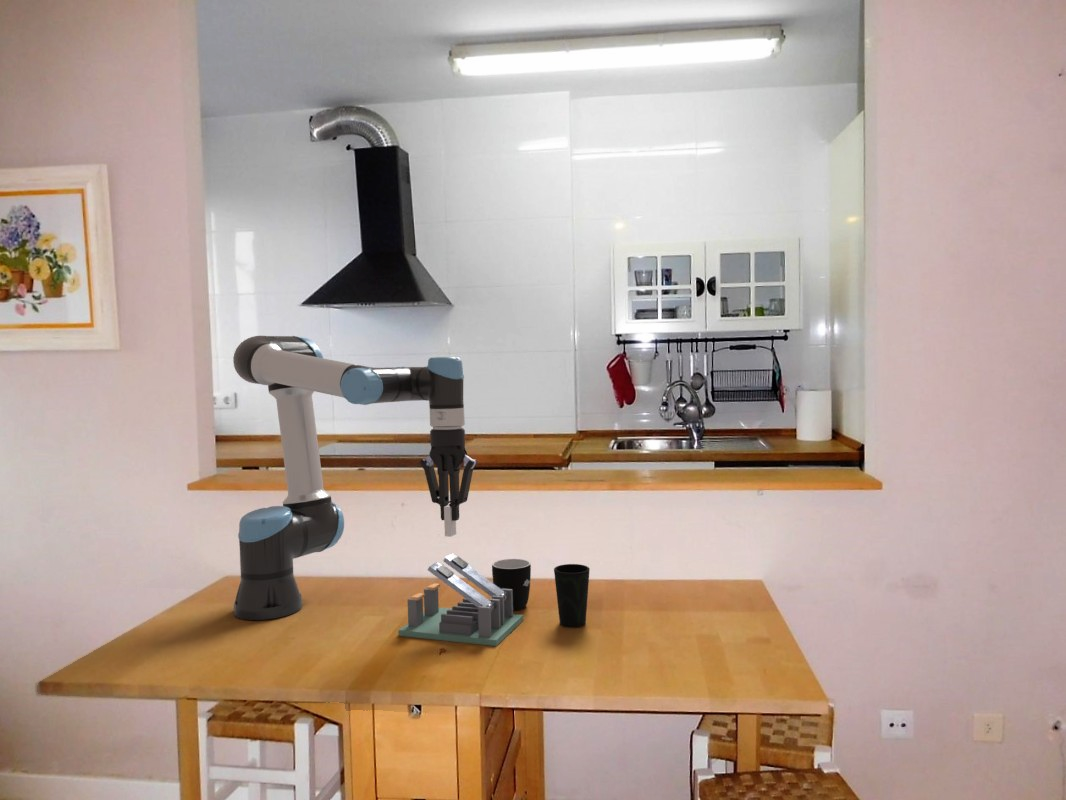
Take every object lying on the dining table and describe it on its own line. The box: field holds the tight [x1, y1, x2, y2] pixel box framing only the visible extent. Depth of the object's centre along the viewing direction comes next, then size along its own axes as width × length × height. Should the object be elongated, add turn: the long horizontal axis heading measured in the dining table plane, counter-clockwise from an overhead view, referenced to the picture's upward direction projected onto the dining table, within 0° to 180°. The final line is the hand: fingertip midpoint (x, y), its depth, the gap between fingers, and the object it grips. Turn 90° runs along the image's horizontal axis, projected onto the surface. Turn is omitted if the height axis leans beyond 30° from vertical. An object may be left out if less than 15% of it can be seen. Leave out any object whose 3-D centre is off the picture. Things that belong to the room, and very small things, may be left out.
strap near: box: [427, 561, 496, 611], centre depth 159 cm, size 16×4×2 cm
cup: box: [553, 563, 591, 629], centre depth 165 cm, size 8×8×12 cm
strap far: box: [443, 553, 509, 601], centre depth 166 cm, size 16×4×2 cm
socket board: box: [397, 583, 524, 647], centre depth 163 cm, size 22×16×8 cm
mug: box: [491, 558, 532, 612], centre depth 179 cm, size 12×9×10 cm
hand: (450, 535), depth 167 cm, fingers closed
